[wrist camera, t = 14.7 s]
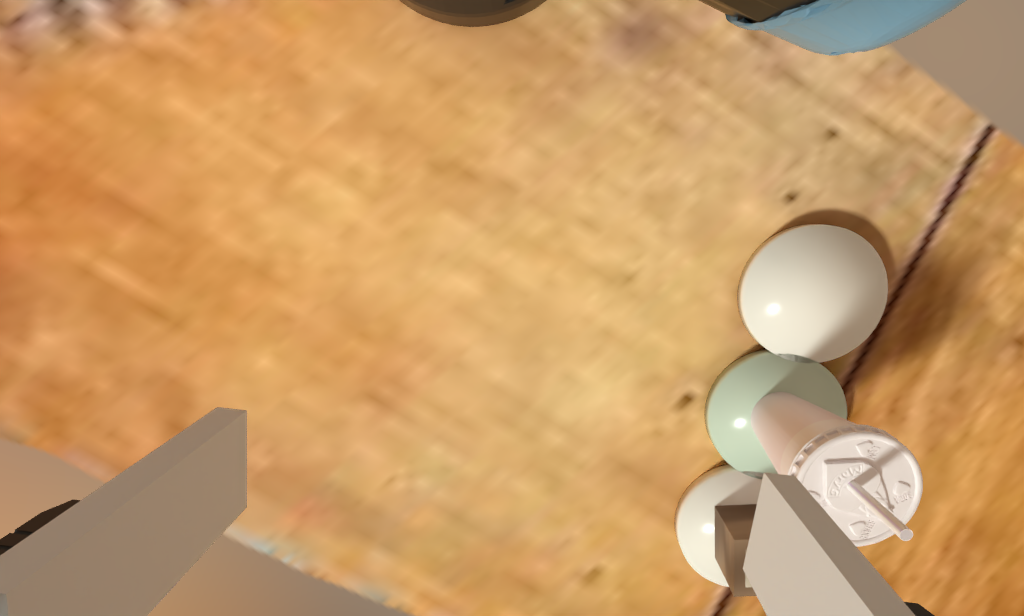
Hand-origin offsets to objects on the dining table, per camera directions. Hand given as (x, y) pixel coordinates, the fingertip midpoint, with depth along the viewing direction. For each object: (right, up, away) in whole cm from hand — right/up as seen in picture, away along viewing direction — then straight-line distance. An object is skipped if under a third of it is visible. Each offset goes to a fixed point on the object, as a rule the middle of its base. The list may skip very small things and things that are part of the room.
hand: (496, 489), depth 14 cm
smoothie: (+18, -3, +24) cm, 30 cm away
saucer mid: (+18, -3, +25) cm, 31 cm away
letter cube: (+17, -11, +25) cm, 32 cm away
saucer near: (+20, +6, +23) cm, 31 cm away
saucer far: (+17, -11, +26) cm, 33 cm away
